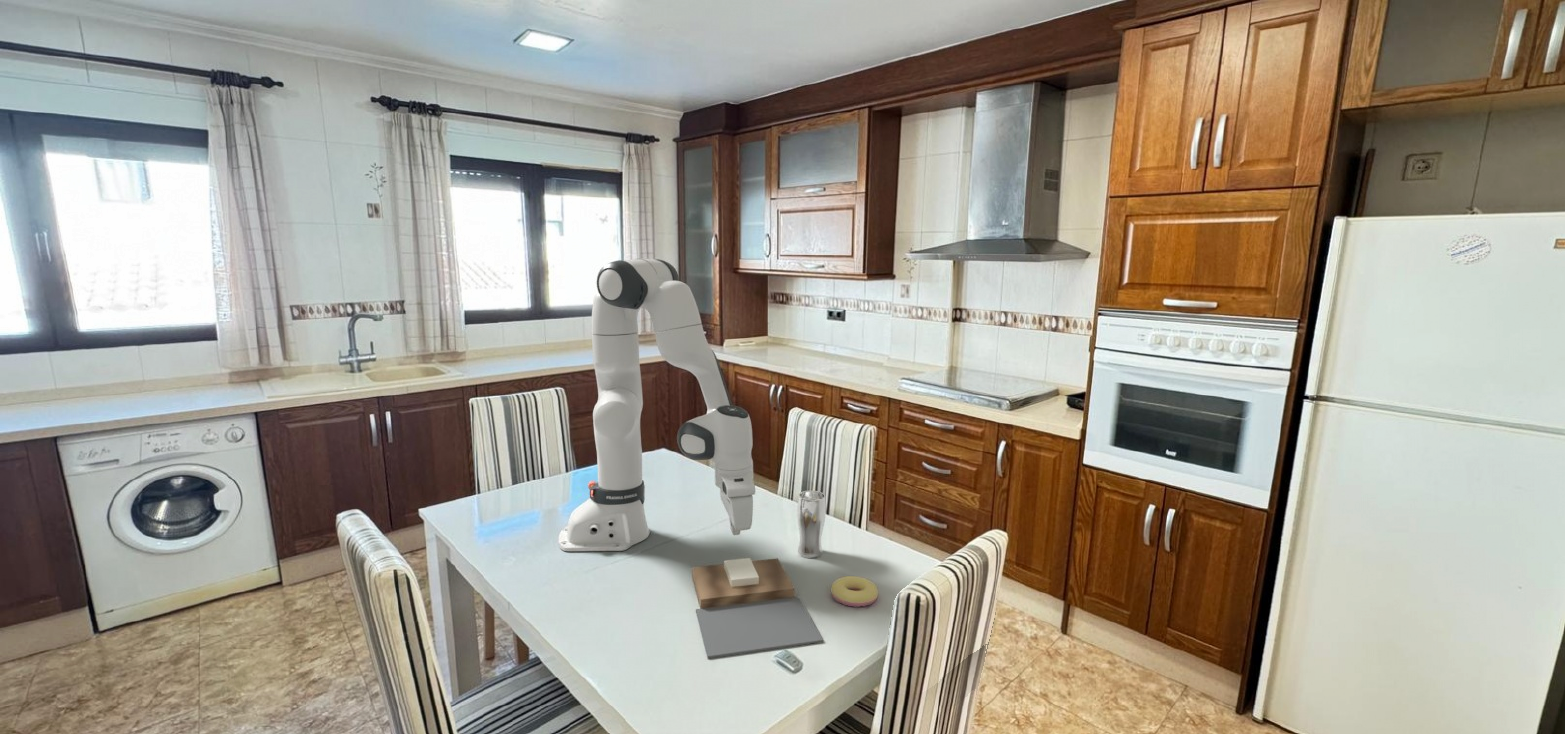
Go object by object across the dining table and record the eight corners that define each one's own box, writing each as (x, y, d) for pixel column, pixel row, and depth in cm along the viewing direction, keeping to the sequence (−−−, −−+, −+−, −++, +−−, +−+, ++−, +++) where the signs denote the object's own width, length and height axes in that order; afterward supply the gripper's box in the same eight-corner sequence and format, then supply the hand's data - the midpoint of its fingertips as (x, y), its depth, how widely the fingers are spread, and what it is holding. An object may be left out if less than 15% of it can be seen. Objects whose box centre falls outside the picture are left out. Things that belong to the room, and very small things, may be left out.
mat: (707, 658, 114) (707, 656, 114) (695, 611, 129) (695, 608, 129) (822, 642, 120) (822, 639, 120) (798, 598, 135) (798, 596, 135)
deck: (700, 610, 130) (700, 599, 129) (692, 577, 143) (692, 567, 143) (794, 599, 135) (794, 588, 135) (777, 568, 148) (777, 558, 148)
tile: (731, 586, 134) (731, 580, 134) (723, 567, 143) (723, 560, 143) (758, 583, 136) (758, 576, 136) (749, 564, 145) (749, 557, 144)
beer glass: (791, 554, 155) (792, 496, 153) (803, 544, 161) (805, 488, 159) (816, 561, 152) (819, 502, 149) (828, 550, 158) (830, 493, 156)
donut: (834, 594, 142) (830, 611, 133) (832, 574, 142) (828, 589, 133) (879, 592, 140) (878, 609, 131) (877, 572, 140) (875, 587, 131)
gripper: (713, 463, 154) (714, 516, 157) (728, 493, 135) (730, 553, 137) (738, 460, 156) (739, 513, 158) (757, 490, 137) (758, 549, 139)
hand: (735, 532), depth 148 cm, fingers closed
